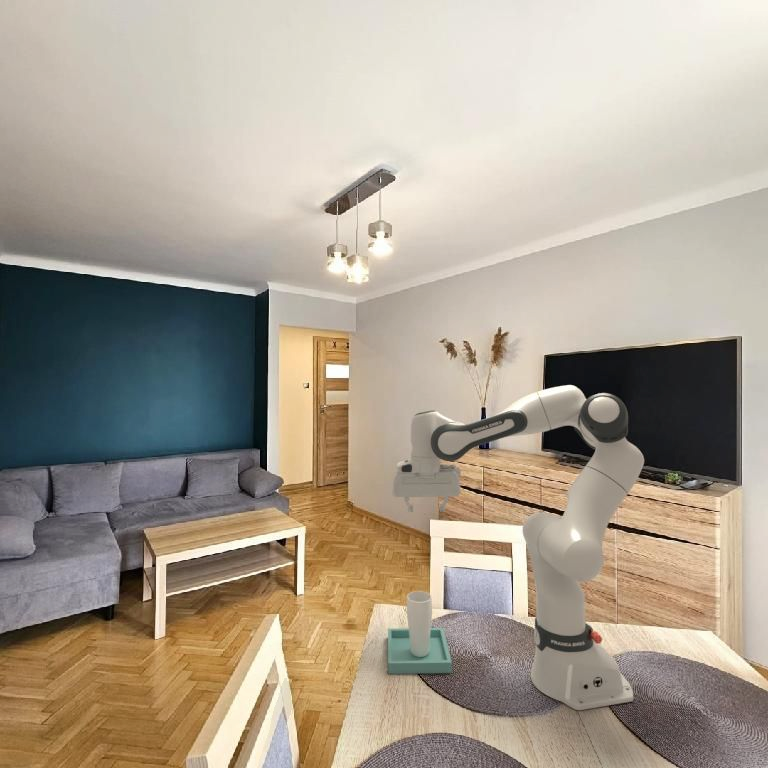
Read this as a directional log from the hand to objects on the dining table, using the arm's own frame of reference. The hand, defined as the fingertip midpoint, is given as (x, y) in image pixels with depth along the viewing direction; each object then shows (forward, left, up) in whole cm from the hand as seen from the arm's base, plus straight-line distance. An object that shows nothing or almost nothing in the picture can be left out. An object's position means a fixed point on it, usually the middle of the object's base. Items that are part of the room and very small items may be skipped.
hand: (426, 511), depth 130 cm
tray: (+4, +12, -35) cm, 37 cm away
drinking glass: (+3, +12, -35) cm, 37 cm away
